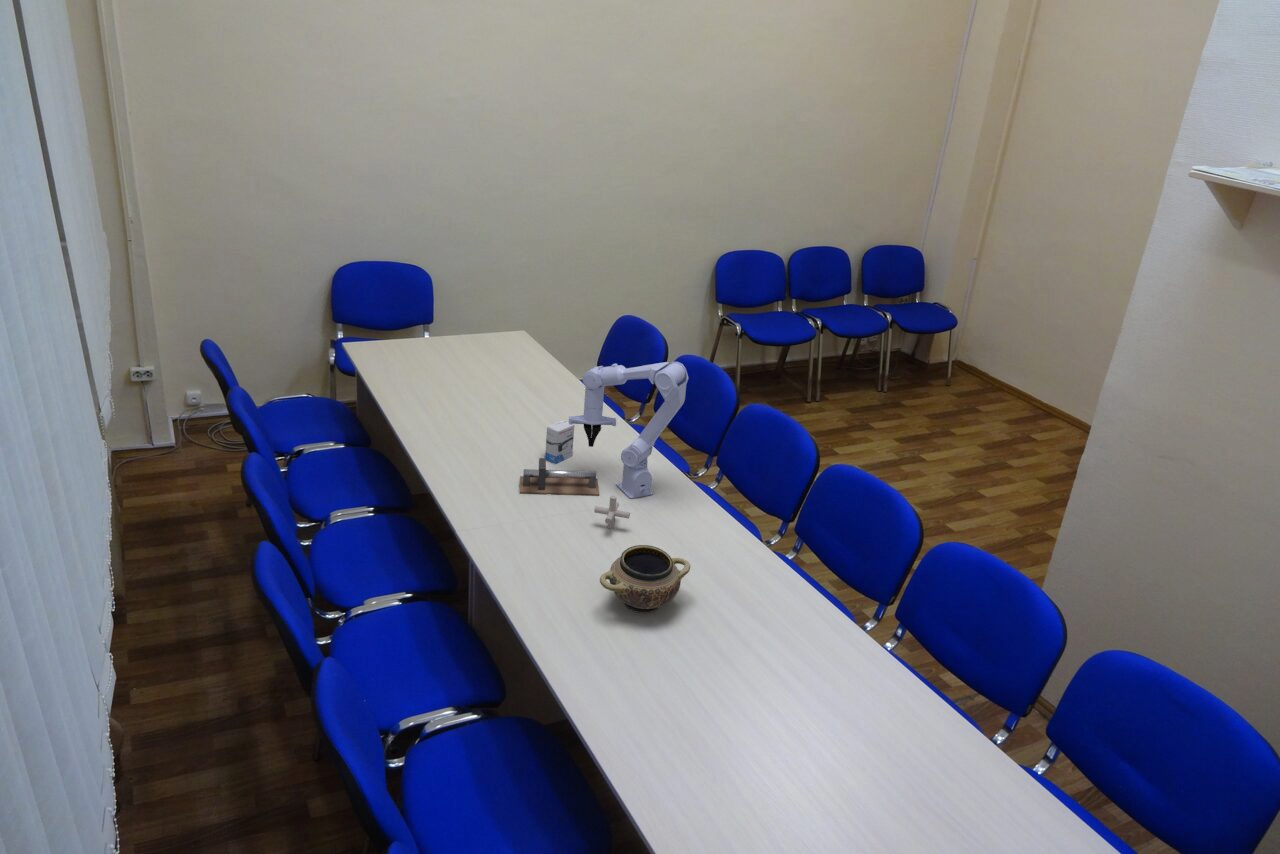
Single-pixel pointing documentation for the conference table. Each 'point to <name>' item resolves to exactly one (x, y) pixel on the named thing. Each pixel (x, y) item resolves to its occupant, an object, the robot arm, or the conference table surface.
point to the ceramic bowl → (645, 578)
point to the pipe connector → (612, 512)
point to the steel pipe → (560, 475)
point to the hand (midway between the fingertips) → (590, 445)
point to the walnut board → (560, 487)
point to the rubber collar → (542, 473)
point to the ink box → (559, 441)
